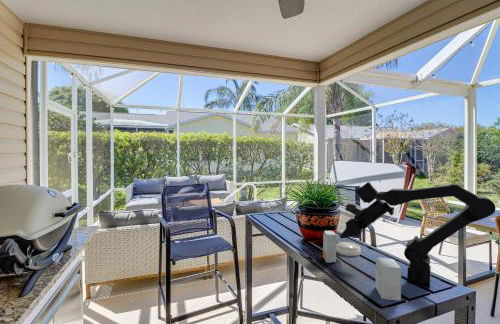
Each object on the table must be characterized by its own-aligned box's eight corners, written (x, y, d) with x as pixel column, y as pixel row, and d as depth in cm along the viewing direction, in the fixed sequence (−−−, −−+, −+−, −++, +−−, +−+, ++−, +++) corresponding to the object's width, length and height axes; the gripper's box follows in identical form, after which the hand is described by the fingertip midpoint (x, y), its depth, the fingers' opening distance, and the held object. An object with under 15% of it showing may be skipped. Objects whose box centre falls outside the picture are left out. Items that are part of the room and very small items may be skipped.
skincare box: (322, 257, 118) (323, 230, 118) (332, 257, 118) (332, 230, 118) (326, 262, 112) (326, 234, 112) (336, 262, 112) (337, 234, 112)
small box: (400, 301, 83) (402, 268, 83) (381, 299, 84) (382, 266, 84) (392, 288, 91) (393, 258, 91) (375, 287, 92) (375, 256, 92)
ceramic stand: (362, 251, 126) (363, 244, 126) (356, 258, 118) (357, 251, 117) (339, 246, 133) (339, 240, 133) (332, 252, 124) (332, 246, 124)
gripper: (364, 193, 115) (337, 215, 122) (352, 199, 100) (322, 223, 107) (383, 214, 111) (355, 235, 118) (374, 223, 96) (342, 247, 103)
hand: (343, 234), depth 111 cm, fingers open, 9 cm apart
